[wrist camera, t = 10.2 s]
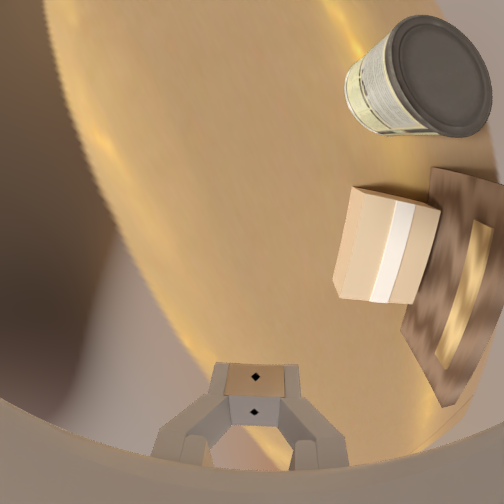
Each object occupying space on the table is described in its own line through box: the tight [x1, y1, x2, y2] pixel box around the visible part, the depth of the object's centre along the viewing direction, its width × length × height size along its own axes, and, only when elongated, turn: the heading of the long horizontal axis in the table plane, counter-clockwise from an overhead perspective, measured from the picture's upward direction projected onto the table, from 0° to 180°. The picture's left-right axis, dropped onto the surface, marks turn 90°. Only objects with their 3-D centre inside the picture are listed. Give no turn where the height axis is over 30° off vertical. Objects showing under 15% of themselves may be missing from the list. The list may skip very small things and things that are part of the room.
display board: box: [400, 167, 504, 408], centre depth 26 cm, size 24×7×16 cm, turn 0°
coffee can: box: [344, 15, 492, 138], centre depth 21 cm, size 10×10×14 cm
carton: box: [332, 187, 441, 304], centre depth 32 cm, size 12×10×5 cm
